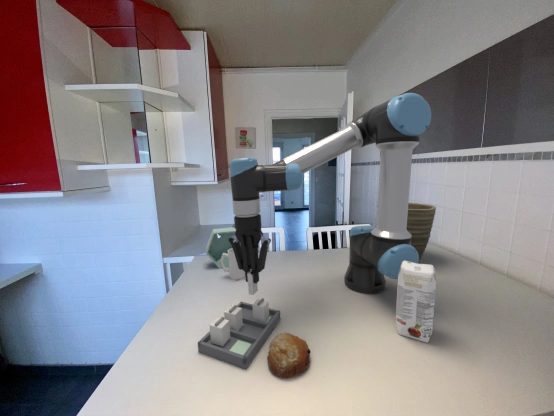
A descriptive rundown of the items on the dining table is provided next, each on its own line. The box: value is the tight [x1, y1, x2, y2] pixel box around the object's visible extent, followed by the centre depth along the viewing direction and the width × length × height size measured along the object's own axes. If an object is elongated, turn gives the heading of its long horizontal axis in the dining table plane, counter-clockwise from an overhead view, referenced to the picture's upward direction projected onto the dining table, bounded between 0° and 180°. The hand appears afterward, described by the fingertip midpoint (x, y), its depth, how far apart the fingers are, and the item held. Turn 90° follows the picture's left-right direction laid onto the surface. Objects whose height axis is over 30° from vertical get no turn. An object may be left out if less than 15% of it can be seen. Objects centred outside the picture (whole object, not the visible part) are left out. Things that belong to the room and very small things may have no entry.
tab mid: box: [223, 304, 243, 331], centre depth 66 cm, size 4×3×6 cm
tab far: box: [251, 297, 270, 322], centre depth 69 cm, size 4×3×6 cm
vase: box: [376, 202, 437, 264], centre depth 113 cm, size 25×24×30 cm
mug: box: [221, 248, 245, 281], centre depth 100 cm, size 10×7×12 cm, turn 96°
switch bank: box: [197, 301, 281, 370], centre depth 65 cm, size 14×20×3 cm
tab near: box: [209, 316, 230, 347], centre depth 60 cm, size 4×3×6 cm
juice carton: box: [395, 260, 437, 344], centre depth 63 cm, size 8×9×19 cm
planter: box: [205, 226, 241, 269], centre depth 114 cm, size 17×8×21 cm
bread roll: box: [266, 332, 312, 379], centre depth 55 cm, size 10×10×8 cm
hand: (253, 292), depth 70 cm, fingers closed
